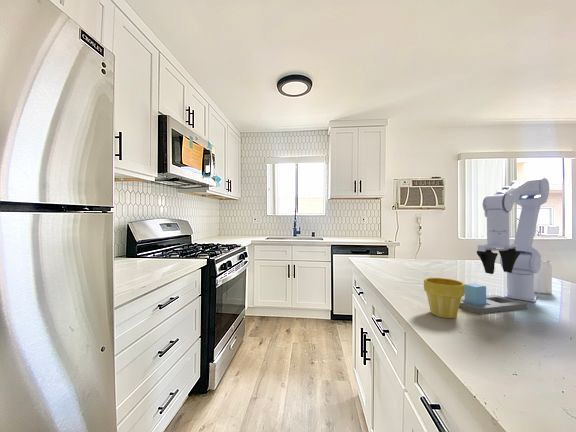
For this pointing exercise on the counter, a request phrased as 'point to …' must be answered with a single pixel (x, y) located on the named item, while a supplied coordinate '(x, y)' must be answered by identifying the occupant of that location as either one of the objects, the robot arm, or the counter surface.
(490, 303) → the holder plate
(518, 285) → the robot arm
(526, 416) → the counter surface
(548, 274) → the can
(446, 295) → the plant pot
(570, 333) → the counter surface
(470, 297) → the plug
